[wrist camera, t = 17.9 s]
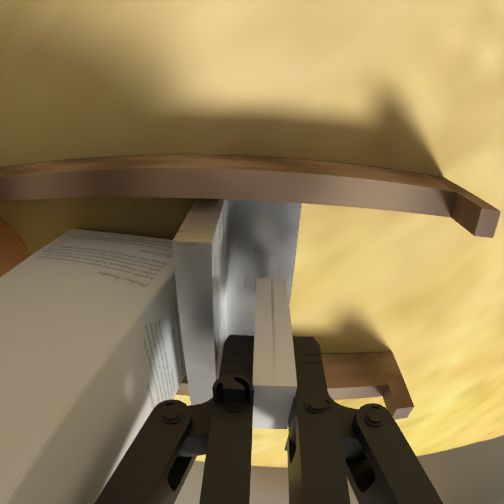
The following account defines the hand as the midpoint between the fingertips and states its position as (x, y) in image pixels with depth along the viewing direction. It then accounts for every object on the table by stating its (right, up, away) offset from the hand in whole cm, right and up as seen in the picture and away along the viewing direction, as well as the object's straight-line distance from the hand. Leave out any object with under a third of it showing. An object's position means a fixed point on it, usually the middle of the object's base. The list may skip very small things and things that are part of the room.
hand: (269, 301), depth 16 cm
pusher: (-1, +1, +2) cm, 2 cm away
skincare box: (-7, +1, +1) cm, 7 cm away
